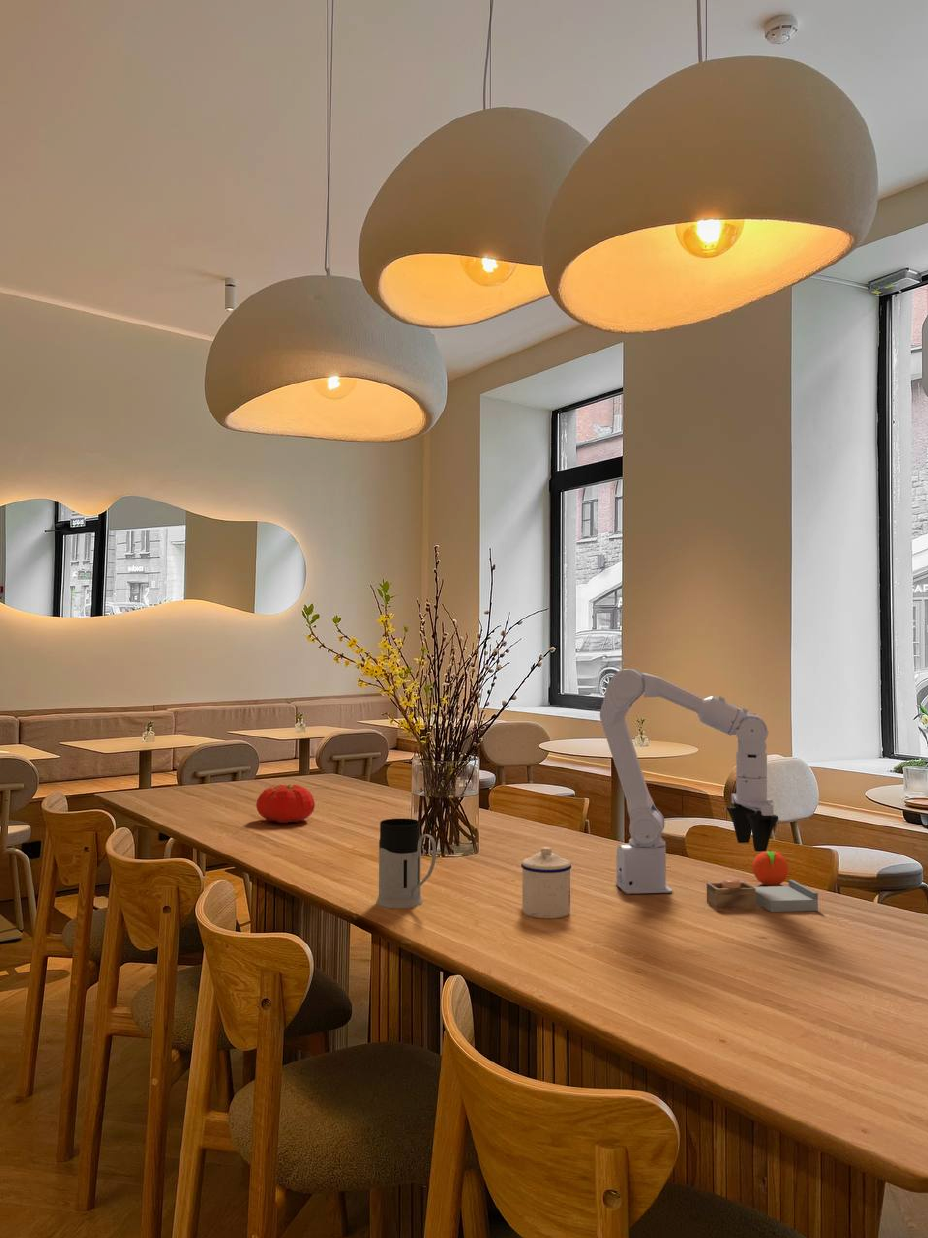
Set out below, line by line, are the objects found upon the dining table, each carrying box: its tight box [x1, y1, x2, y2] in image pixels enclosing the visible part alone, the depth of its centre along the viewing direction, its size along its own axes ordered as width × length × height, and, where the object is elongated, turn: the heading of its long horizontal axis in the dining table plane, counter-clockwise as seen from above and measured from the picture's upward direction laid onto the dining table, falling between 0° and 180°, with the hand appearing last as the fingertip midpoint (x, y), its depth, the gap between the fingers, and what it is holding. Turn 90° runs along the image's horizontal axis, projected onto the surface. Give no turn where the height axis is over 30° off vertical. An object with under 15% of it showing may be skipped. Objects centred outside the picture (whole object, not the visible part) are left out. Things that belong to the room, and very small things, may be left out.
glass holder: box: [375, 818, 437, 910], centre depth 171 cm, size 9×14×15 cm, turn 44°
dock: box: [753, 879, 819, 913], centre depth 172 cm, size 9×10×3 cm
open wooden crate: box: [706, 881, 757, 910], centre depth 171 cm, size 8×5×4 cm, turn 95°
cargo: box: [721, 878, 741, 888], centre depth 171 cm, size 3×3×2 cm
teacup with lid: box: [521, 846, 572, 920], centre depth 167 cm, size 12×9×12 cm
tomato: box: [255, 784, 316, 824], centre depth 254 cm, size 14×16×10 cm
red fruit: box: [752, 849, 789, 887], centre depth 185 cm, size 8×7×7 cm
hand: (751, 846), depth 177 cm, fingers open, 7 cm apart
